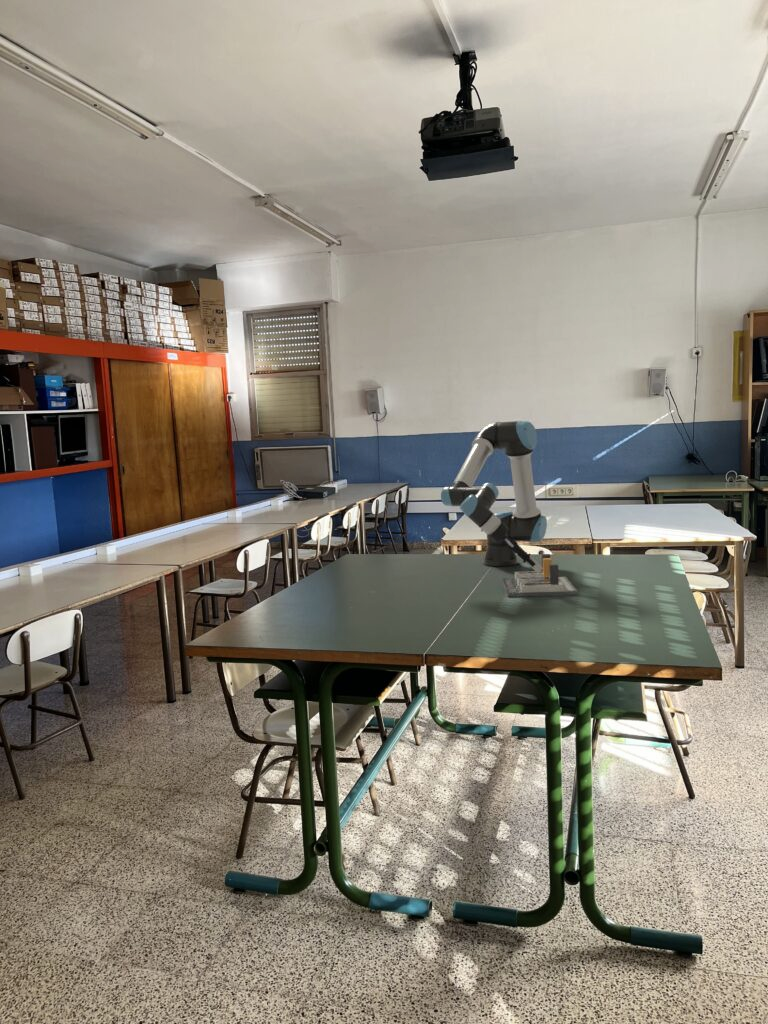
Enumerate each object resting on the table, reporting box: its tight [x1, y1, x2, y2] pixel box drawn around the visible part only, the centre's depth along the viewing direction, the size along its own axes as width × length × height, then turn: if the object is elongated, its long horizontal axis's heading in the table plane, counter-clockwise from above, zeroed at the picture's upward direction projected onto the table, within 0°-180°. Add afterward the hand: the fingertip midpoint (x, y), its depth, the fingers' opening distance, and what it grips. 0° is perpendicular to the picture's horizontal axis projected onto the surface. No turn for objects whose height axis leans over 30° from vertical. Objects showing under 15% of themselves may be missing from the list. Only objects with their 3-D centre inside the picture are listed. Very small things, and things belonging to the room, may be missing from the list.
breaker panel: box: [501, 553, 578, 598], centre depth 284 cm, size 25×25×11 cm
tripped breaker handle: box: [543, 557, 553, 578], centre depth 284 cm, size 2×3×7 cm
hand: (540, 570), depth 284 cm, fingers closed
